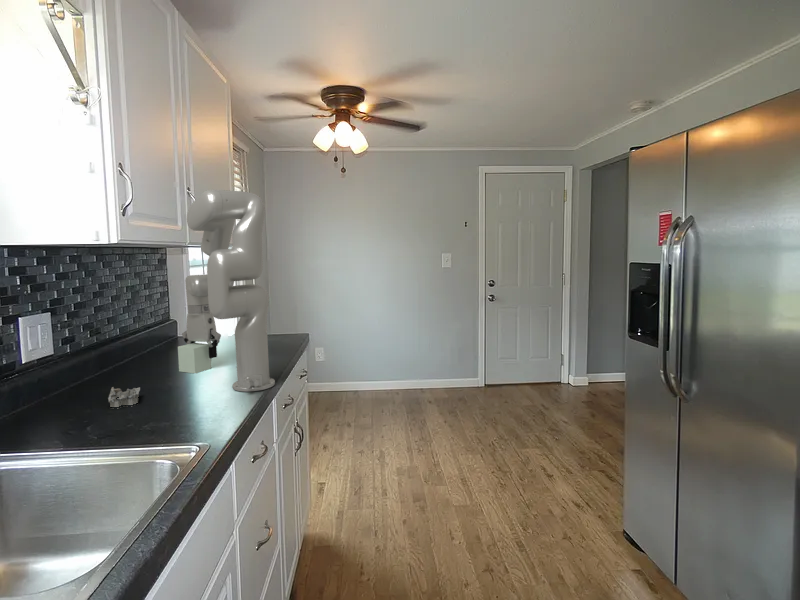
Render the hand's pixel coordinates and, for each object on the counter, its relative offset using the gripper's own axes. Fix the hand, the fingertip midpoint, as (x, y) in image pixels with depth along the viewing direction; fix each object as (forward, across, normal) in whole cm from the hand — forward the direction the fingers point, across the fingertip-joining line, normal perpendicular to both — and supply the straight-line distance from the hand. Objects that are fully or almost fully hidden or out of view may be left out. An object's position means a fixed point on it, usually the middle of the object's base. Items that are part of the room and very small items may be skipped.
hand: (202, 356), depth 176 cm
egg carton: (+5, -8, +37) cm, 39 cm away
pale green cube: (+4, +1, +3) cm, 5 cm away
